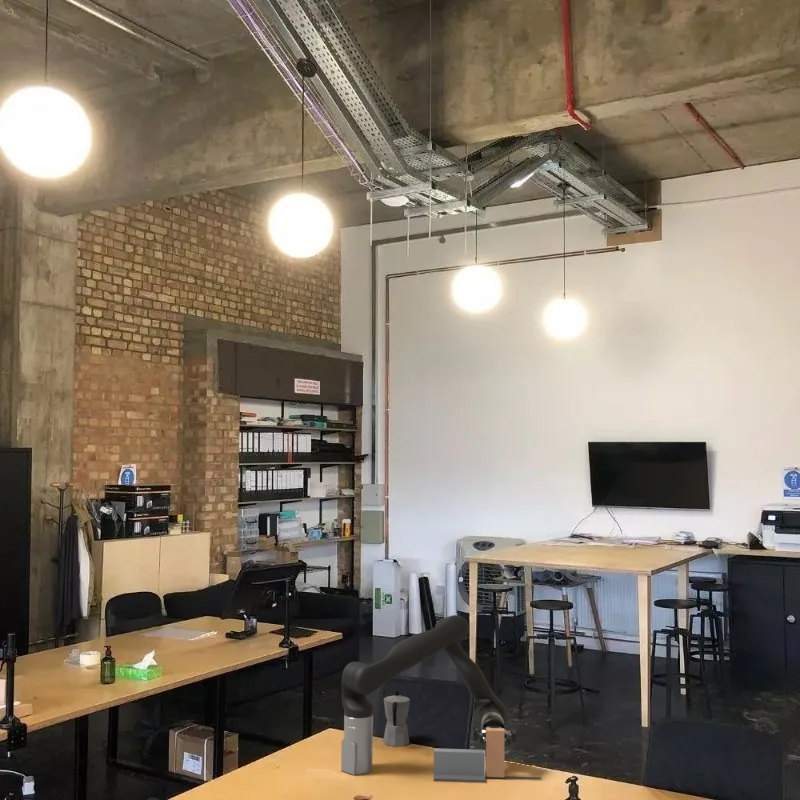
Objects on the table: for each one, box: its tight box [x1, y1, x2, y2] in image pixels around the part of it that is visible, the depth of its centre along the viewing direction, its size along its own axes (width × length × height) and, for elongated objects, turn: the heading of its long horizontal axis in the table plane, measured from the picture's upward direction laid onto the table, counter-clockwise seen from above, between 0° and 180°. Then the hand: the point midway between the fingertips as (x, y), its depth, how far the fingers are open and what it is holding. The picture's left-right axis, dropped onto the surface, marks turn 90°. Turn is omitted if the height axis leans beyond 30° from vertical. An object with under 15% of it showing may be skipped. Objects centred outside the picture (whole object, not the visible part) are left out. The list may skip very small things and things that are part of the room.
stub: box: [485, 728, 505, 778], centre depth 269 cm, size 6×3×14 cm, turn 86°
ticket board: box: [432, 747, 542, 784], centre depth 269 cm, size 34×10×8 cm, turn 86°
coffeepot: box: [383, 689, 411, 748], centre depth 302 cm, size 15×9×18 cm, turn 175°
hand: (495, 741), depth 267 cm, fingers open, 7 cm apart
